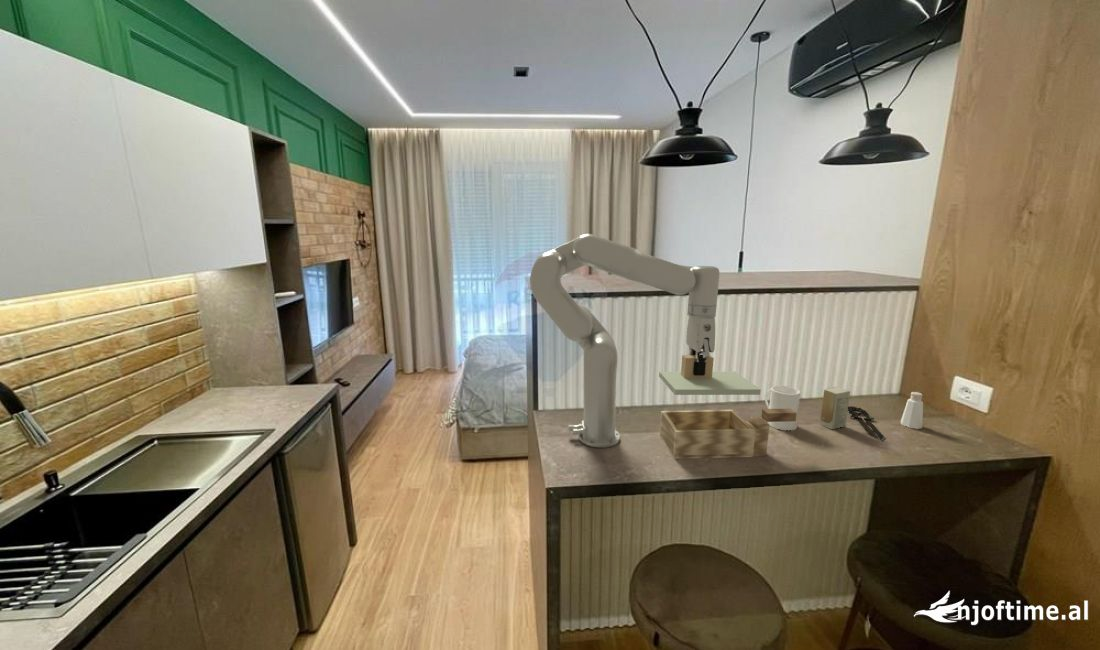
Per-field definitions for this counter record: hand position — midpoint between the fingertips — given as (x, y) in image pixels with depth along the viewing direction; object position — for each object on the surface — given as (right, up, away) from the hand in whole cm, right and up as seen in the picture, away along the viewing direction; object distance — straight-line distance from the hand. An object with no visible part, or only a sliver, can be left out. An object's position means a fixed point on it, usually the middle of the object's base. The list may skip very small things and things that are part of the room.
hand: (696, 372), depth 121 cm
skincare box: (+48, -19, +13) cm, 54 cm away
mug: (+32, -18, +16) cm, 41 cm away
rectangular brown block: (+22, -13, -4) cm, 25 cm away
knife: (+61, -19, +15) cm, 65 cm away
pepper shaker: (+73, -19, +13) cm, 77 cm away
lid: (+2, -3, -2) cm, 5 cm away
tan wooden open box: (+5, -22, +2) cm, 22 cm away
